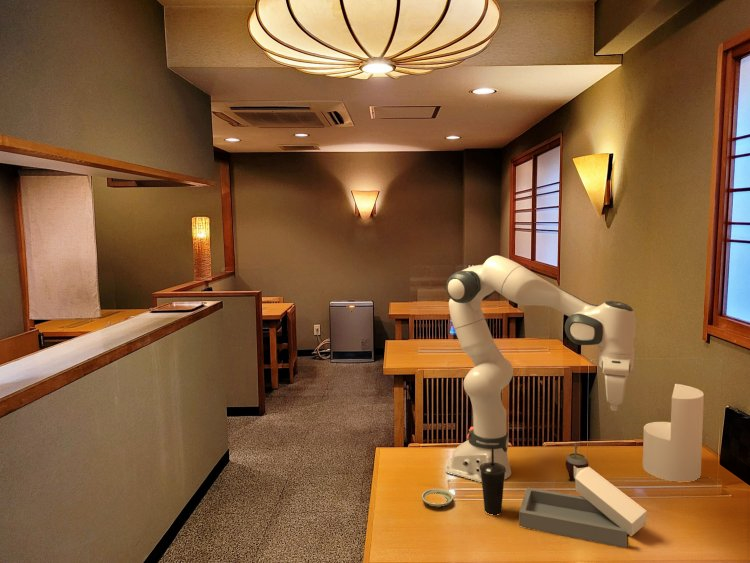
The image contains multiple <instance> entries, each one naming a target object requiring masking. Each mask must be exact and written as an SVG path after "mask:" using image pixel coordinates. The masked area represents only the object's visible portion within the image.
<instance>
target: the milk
mask: <svg viewBox="0 0 750 563" xmlns="http://www.w3.org/2000/svg"><path fill="white" fill-rule="evenodd" d="M574 479H575V492H577V493H578V494H579V495H581V496H582V497H584V498H585V499H587V500H588V501H589V502H590V503H591V504H593V505H594V506H595V507H596V508H597V509H599V510H600V511H601V512H602V513H603V514H605V515H606V516H607V517H608V518H610V519H611V520H612V521H613V522H614V523H616V524H617V525H618V526H619V527H620V528H625V529H627V535H629V536H630V537H632V536H634V535H635V534H636V533H637V532H638V531H640V530H641V528H643V527H644V526H645V525H646V524H647V513H648V512H647V510H646V509H645V508H644V507H642V506H641V505H640V504H638V503H637V502H636V501H634V500H633V499H632V498H630V497H629V496H628V495H627V494H625V493H624V492H623V491H621V490H620V489H619V488H618V487H617V486H615V485H614V484H613V483H611V482H610V481H608V480H607V479H606V478H604V477H603V476H602V475H600V473H598V472H597V471H595V470H594V469H593V468H591V467H590V466H588V467H585V468H576V467H575V466H574Z"/></svg>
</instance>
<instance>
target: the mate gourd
mask: <svg viewBox="0 0 750 563" xmlns="http://www.w3.org/2000/svg"><path fill="white" fill-rule="evenodd" d="M577 449H578V442H575V444H574V452H573V453H570V454H568V455H567V457H566V459H565V467H566V468H565V469H566V471H567V475H568V482H574V480H575V479H574V466H575V467H576V468H585V467H589V461H588V458H587V457H586V456H585V455H584V454H581V453H577V452H578V450H577Z"/></svg>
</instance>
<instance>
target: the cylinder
mask: <svg viewBox="0 0 750 563" xmlns="http://www.w3.org/2000/svg"><path fill="white" fill-rule="evenodd" d="M672 391H673V392H672V395H671V405H670V406H671V408H670V409H671V410H670V421H652V422H649V423H646V424H645V425H644V426H643V440H642V441H643V446H642V468H643V470H644V471H645V472H646V473H647V474H649V475H651V476H653V477H654V476H655V477H654V478H657V477H658V478H657V479H660V478H661V479H660V480H663V479H665V480H664V481H667V480H671V481H670V482H672V481H693V480H697V479H698V478H701V477H700V476H702V457H703V456H702V454H703V452H702V450H703V449H702V448H703V430H704V429H703V425H704V424H703V423H704V422H703V421H704V401H705V400H704V399H705V398H704V396H705V395H704V392H703V391H702V390H700V389H699V388H696V387H693V386H689V385H685V384H679V383H675V384H674V387H673V390H672ZM698 480H699V479H698ZM698 480H697V481H698Z"/></svg>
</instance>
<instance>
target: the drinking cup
mask: <svg viewBox="0 0 750 563" xmlns="http://www.w3.org/2000/svg"><path fill="white" fill-rule="evenodd" d="M480 471H481V479H482V483H481V487H482V495H483V506H484V512H485V511H486V512H487V513H489V514H493V515H497V514H500V513H501V514H502V508H503V497H504V496H503V495H504V485H505V479H504V477H505V472H506V468H505V466H503V465H502V464H499V463H495V462H494V447H491V462H488V463H483V464H481V465H480ZM501 514H500V515H501ZM497 516H498V515H497Z"/></svg>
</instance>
